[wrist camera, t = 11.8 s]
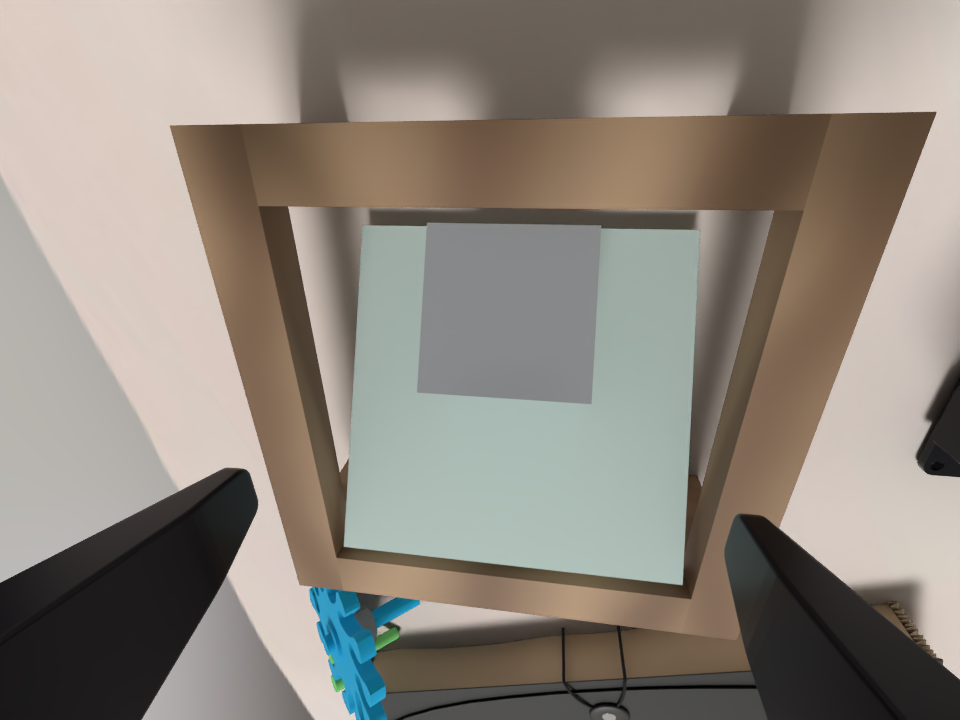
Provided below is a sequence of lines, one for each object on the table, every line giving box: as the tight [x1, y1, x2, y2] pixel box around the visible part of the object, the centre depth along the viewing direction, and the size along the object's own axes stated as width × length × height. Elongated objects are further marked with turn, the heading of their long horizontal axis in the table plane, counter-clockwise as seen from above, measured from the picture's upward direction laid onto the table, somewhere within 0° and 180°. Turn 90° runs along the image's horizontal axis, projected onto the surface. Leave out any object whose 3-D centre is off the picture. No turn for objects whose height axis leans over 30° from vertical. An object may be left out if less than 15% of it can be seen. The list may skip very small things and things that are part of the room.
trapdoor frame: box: [170, 112, 936, 640], centre depth 18 cm, size 18×18×7 cm
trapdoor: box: [344, 225, 700, 585], centre depth 18 cm, size 13×13×1 cm
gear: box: [309, 587, 420, 720], centre depth 29 cm, size 11×6×10 cm
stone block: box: [417, 223, 601, 404], centre depth 15 cm, size 4×4×6 cm
